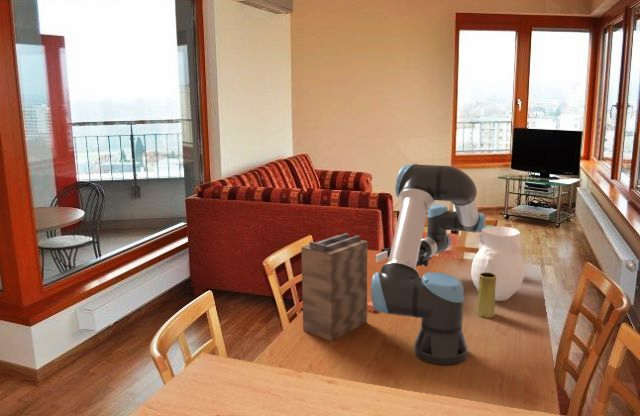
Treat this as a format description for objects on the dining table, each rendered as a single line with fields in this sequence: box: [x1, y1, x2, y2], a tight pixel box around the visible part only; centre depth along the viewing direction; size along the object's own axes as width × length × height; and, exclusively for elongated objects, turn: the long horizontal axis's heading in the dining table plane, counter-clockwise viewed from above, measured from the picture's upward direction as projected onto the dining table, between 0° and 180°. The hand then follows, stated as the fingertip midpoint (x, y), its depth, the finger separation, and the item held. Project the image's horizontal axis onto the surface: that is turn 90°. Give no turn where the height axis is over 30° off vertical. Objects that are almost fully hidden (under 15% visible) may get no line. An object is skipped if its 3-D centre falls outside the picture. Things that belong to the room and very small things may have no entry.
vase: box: [475, 272, 496, 319], centre depth 190 cm, size 6×6×14 cm
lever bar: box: [367, 300, 376, 313], centre depth 205 cm, size 26×3×3 cm, turn 138°
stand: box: [300, 232, 368, 342], centre depth 181 cm, size 18×12×30 cm, turn 138°
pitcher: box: [470, 225, 525, 302], centre depth 205 cm, size 19×18×25 cm
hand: (391, 262), depth 204 cm, fingers open, 13 cm apart
